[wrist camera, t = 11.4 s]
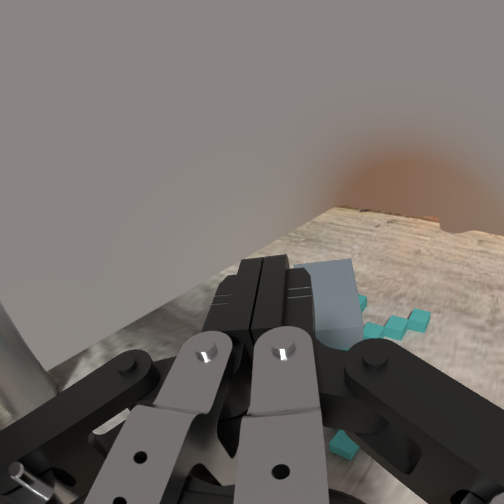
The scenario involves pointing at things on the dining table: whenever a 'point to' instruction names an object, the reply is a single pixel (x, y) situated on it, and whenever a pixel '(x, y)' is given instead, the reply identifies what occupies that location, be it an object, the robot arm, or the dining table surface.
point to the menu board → (335, 303)
